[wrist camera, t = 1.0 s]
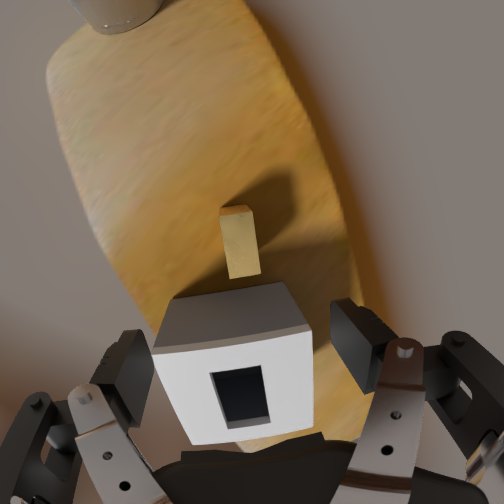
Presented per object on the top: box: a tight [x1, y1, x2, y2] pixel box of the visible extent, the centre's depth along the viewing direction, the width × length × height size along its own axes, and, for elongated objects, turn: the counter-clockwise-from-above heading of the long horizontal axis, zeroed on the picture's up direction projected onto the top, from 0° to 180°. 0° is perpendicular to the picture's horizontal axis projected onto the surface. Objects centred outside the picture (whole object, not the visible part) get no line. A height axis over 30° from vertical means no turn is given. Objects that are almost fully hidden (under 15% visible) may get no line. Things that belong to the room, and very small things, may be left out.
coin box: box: [151, 282, 313, 445], centre depth 25 cm, size 12×12×10 cm
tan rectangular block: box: [219, 204, 261, 279], centre depth 24 cm, size 5×2×6 cm, turn 8°
